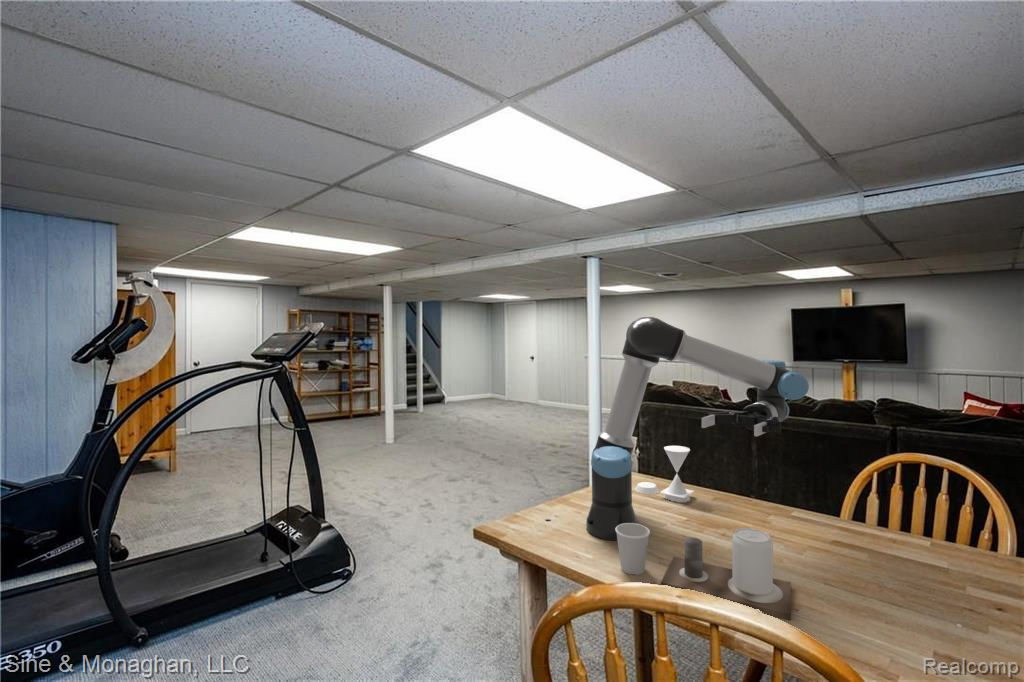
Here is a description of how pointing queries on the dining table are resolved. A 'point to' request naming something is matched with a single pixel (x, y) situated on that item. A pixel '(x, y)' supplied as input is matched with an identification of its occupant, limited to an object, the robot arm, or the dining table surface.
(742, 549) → the beverage can
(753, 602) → the board
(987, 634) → the dining table surface
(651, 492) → the white plastic pieces
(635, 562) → the dixie cup
